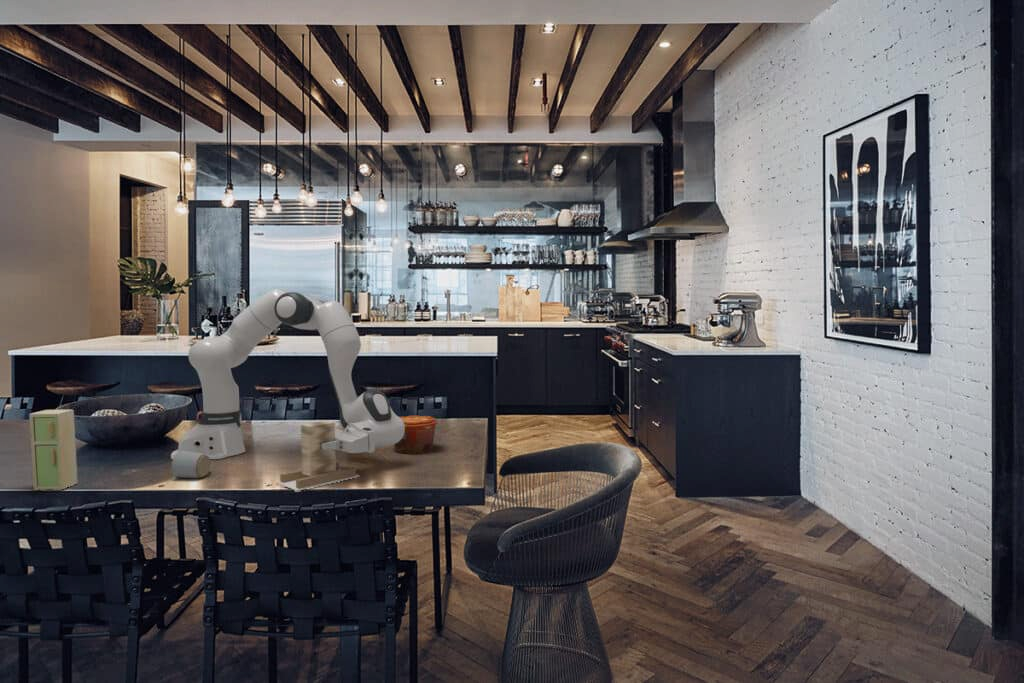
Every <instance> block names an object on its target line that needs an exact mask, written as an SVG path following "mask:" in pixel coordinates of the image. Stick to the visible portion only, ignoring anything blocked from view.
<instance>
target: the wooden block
mask: <svg viewBox="0 0 1024 683" xmlns="http://www.w3.org/2000/svg"><path fill="white" fill-rule="evenodd" d="M335 429H336V423H335V421H334V422H333V421H330V420H321V421H316V422H308V423H301V424H300V432H301V435H300V437H301V438H300V439H301V467H302V468H301V470H302V474H305V475H308V476H315V475H320V474H324V473H329V472H333V471H336V449H326V450H323V449H320V444H321V443H323V442H333V441H335V439H334V438H335Z"/></svg>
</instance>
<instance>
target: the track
mask: <svg viewBox="0 0 1024 683" xmlns="http://www.w3.org/2000/svg"><path fill="white" fill-rule="evenodd" d="M356 472H357V468H356V467H349V468H344V469H340V462H336V471H333V472H329V473H324V474H320V475H315V476H308V475H305V474H302V469H297V470H294V471H288V472H284V473H279V475H280V476H279V477H280V481H276V482H275V484H276V483H277V484H280V485H283V486H285V487H288V488H291V489H293V490H294V491H293V492H295V493H299V492H302V491H301V490H303V489H306V488H311V487H316V486H321V485H325V486H327V485H326V484H329V485H332V484H331V483H334V484H337V483H336V482H338V483H341V482H340V481H342V482H344V481H343V480H347V481H349V480H348V479H351V480H353V479H352V478H355V479H357V478H356V477H359V476H360V477H361V475H360V474H357V473H356ZM360 477H359V478H360ZM277 484H276V485H277ZM285 487H284V488H285ZM321 487H322V486H321ZM316 488H317V487H316Z"/></svg>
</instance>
